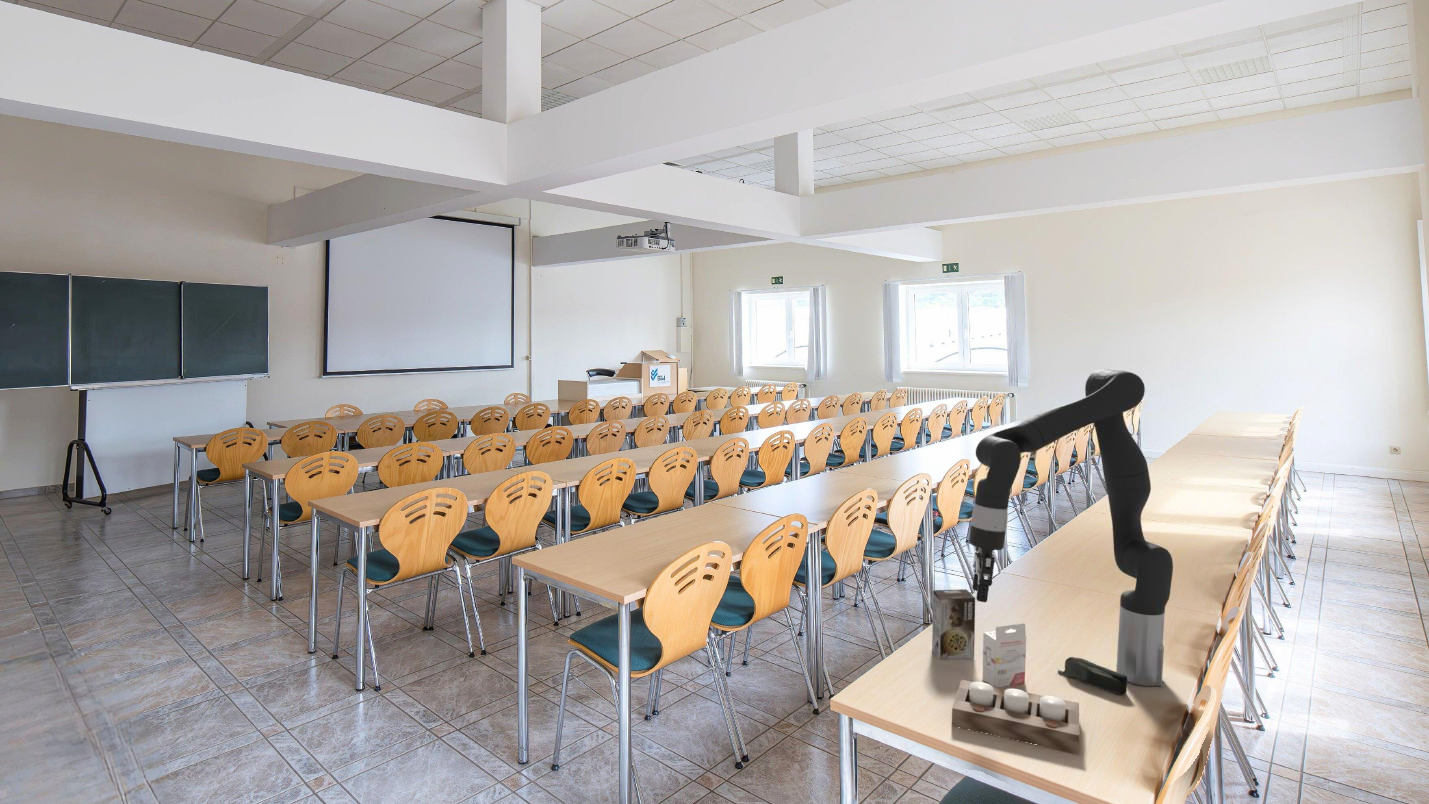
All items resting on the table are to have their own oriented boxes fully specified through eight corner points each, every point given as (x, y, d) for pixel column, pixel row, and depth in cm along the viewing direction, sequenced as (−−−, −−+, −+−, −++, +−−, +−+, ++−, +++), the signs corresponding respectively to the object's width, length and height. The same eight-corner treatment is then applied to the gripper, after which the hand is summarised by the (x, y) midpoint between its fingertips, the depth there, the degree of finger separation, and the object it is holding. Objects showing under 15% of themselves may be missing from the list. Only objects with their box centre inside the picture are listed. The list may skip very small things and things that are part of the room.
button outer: (993, 702, 160) (994, 684, 160) (991, 712, 156) (992, 694, 155) (970, 697, 162) (971, 680, 162) (967, 707, 158) (968, 689, 157)
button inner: (1064, 717, 154) (1065, 698, 153) (1064, 728, 150) (1065, 709, 149) (1039, 711, 156) (1040, 693, 156) (1038, 722, 152) (1039, 704, 151)
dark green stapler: (1129, 674, 168) (1063, 651, 180) (1124, 678, 166) (1057, 654, 178) (1127, 694, 169) (1061, 670, 180) (1122, 699, 167) (1056, 674, 178)
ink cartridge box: (1011, 674, 178) (1013, 615, 177) (1025, 683, 174) (1027, 623, 172) (980, 678, 176) (983, 619, 175) (994, 688, 171) (996, 627, 170)
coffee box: (965, 648, 193) (967, 588, 191) (974, 659, 186) (976, 597, 185) (930, 649, 192) (932, 589, 191) (939, 660, 186) (940, 598, 184)
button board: (1078, 720, 157) (1079, 702, 157) (1078, 754, 145) (1079, 734, 144) (960, 696, 168) (961, 678, 167) (951, 726, 155) (952, 707, 155)
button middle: (1028, 709, 157) (1029, 691, 156) (1027, 720, 153) (1028, 701, 152) (1004, 704, 159) (1005, 686, 159) (1002, 714, 155) (1003, 696, 154)
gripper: (1010, 535, 158) (1001, 608, 159) (1001, 521, 171) (992, 589, 173) (974, 529, 159) (964, 602, 161) (968, 516, 173) (959, 583, 174)
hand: (979, 595), depth 167 cm, fingers open, 8 cm apart
